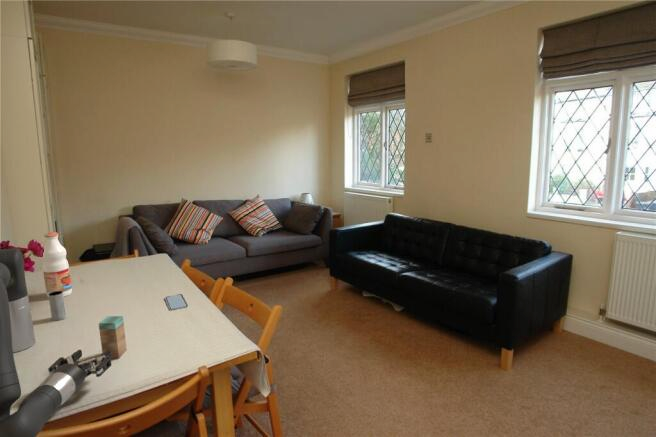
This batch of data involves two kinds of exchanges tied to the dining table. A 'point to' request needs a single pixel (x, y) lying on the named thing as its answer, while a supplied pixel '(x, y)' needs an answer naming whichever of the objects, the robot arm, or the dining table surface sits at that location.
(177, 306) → the smartphone
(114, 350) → the brown tall block
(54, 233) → the white strawberry milk bottle
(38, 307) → the dining table surface
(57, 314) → the planter
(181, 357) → the dining table surface
